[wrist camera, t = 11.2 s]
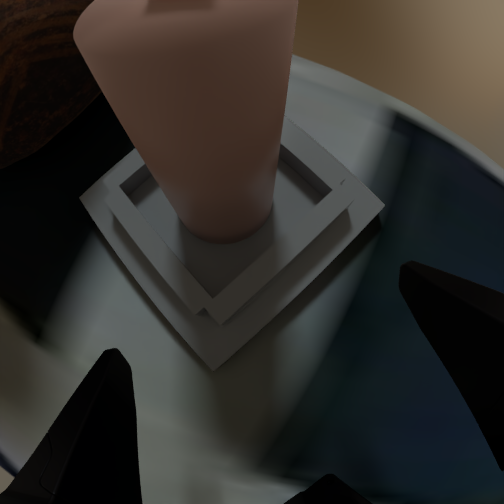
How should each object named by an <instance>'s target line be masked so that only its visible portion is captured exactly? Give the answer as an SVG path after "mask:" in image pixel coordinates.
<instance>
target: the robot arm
mask: <svg viewBox="0 0 504 504" xmlns="http://www.w3.org/2000/svg"><path fill="white" fill-rule="evenodd" d="M399 290H400V292H401V294H402V296H403V298H404V300H405V301H406V303H407V305H408V307H409V309H410V310H411V312H412V314H413V316H414V318H415V320H416V322H417V323H418V325H419V327H420V329H421V330H422V332H423V333H424V335H425V336H426V338H427V339H428V341H429V342H430V344H431V346H432V347H433V349H434V350H435V352H436V353H437V355H438V356H439V358H440V360H441V361H442V363H443V364H444V366H445V368H446V369H447V371H448V372H449V374H450V376H451V377H452V379H453V381H454V382H455V384H456V386H457V387H458V389H459V391H460V393H461V394H462V396H463V398H464V400H465V401H466V403H467V405H468V407H469V408H470V410H471V412H472V414H473V416H474V417H475V419H476V421H477V423H478V424H479V427H480V429H481V431H482V433H483V435H484V437H485V439H486V441H487V443H488V445H489V447H490V449H491V451H492V453H493V455H494V457H495V459H496V461H497V463H498V465H499V468H500V469H501V471H504V294H503V293H501V292H499V291H496V290H493V289H491V288H488V287H485V286H483V285H480V284H477V283H475V282H472V281H469V280H467V279H464V278H461V277H458V276H456V275H453V274H450V273H447V272H444V271H442V270H439V269H436V268H433V267H430V266H427V265H424V264H421V263H419V262H416V261H408V262H406V263H403V264H402V265H401V267H400V274H399ZM331 479H332V482H330V483H326V482H327V481H328V480H331ZM0 504H142V495H141V486H140V474H139V461H138V444H137V417H136V406H135V398H134V389H133V380H132V370H131V367H130V365H129V363H128V362H127V360H126V359H125V358H124V356H123V355H122V354H121V352H120V351H119V350H118V349H117V348H112V349H107V350H105V351H104V352H103V353H102V354H101V356H100V357H99V358H98V360H97V361H96V363H95V364H94V365H93V367H92V368H91V369H90V371H89V372H88V374H87V375H86V376H85V378H84V379H83V381H82V382H81V383H80V385H79V386H78V388H77V389H76V391H75V392H74V393H73V395H72V396H71V398H70V399H69V401H68V402H67V403H66V405H65V406H64V408H63V409H62V411H61V412H60V414H59V415H58V417H57V418H56V420H55V421H54V423H53V424H52V426H51V427H50V429H49V430H48V433H46V435H45V436H44V438H43V439H42V441H41V442H40V444H39V445H38V447H37V448H36V450H35V451H34V453H33V454H32V455H31V457H30V458H29V460H28V461H27V462H26V464H25V465H24V466H23V468H22V469H21V470H20V472H19V473H18V474H17V476H16V477H15V478H14V480H13V481H12V482H11V484H10V485H9V486H8V488H7V489H6V490H5V491H3V492H2V493H1V494H0ZM284 504H372V503H371V502H369V501H368V500H367V499H365V498H364V497H362V496H361V495H360V494H358V493H357V492H356V491H354V490H353V489H352V488H351V487H349V486H348V485H347V484H345V483H344V482H343V481H342V480H340V479H339V478H338V477H337V476H335V475H334V474H327V475H325V476H323V477H322V478H321V479H319V480H318V481H317V482H316V483H314V484H313V485H312V486H310V487H309V488H308V489H306V490H305V491H303V492H300V493H298V494H297V495H295V496H294V497H293V498H291V499H290V500H288V501H287V502H285V503H284Z"/></svg>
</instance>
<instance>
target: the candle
mask: <svg viewBox="0 0 504 504" xmlns="http://www.w3.org/2000/svg"><path fill="white" fill-rule="evenodd" d="M297 7H298V0H94V1H93V2H92V3H91V4H90V5H89V6H88V7H87V8H86V9H85V10H84V12H83V13H82V14H81V16H80V17H79V19H78V20H77V22H76V25H75V27H74V31H73V38H74V41H75V43H76V45H77V47H78V49H79V51H80V52H81V54H82V56H83V58H84V60H85V62H86V63H87V65H88V67H89V69H90V71H91V72H92V74H93V76H94V78H95V80H96V81H97V83H98V85H99V87H100V88H101V90H102V92H103V94H104V95H105V97H106V99H107V101H108V102H109V104H110V106H111V107H112V109H113V111H114V113H115V114H116V116H117V118H118V119H119V121H120V123H121V125H122V126H123V128H124V130H125V131H126V133H127V135H128V136H129V138H130V140H131V141H132V143H133V145H134V146H135V148H136V149H137V151H138V153H139V154H140V156H141V158H142V159H143V161H144V163H145V164H146V166H147V167H148V169H149V171H150V172H151V174H152V175H153V177H154V179H155V180H156V182H157V183H158V185H159V187H160V188H161V190H162V191H163V193H164V195H165V196H166V198H167V199H168V201H169V202H170V204H171V205H172V207H173V209H174V210H175V212H176V213H177V215H178V216H179V218H180V219H181V221H182V223H183V224H184V226H185V227H186V228H187V229H188V230H189V231H190V232H191V233H192V234H193V235H195V236H196V237H197V238H199V239H201V240H203V241H206V242H209V243H214V244H231V243H236V242H239V241H242V240H244V239H247V238H248V237H250V236H252V235H253V234H254V233H256V232H257V231H258V230H259V229H260V228H261V227H262V226H263V224H264V223H265V222H266V220H267V218H268V216H269V214H270V211H271V207H272V201H273V194H274V187H275V179H276V172H277V165H278V158H279V150H280V143H281V135H282V128H283V120H284V113H285V105H286V97H287V89H288V82H289V74H290V66H291V58H292V50H293V41H294V33H295V24H296V16H297Z"/></svg>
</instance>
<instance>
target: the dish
mask: <svg viewBox="0 0 504 504" xmlns="http://www.w3.org/2000/svg"><path fill="white" fill-rule="evenodd" d="M79 198H80V200H81V202H82V203H83V205H84V206H85V208H86V209H87V211H88V213H89V214H90V216H91V217H92V219H93V220H94V222H95V223H96V225H97V226H98V228H99V229H100V231H101V232H102V233H103V235H104V236H105V238H106V239H107V241H108V242H109V244H110V245H111V246H112V248H113V249H114V251H115V252H116V254H117V255H118V256H119V258H120V259H121V260H122V262H123V263H124V265H125V266H126V267H127V269H128V270H129V271H130V273H131V274H132V275H133V277H134V278H135V279H136V281H137V282H138V283H139V285H140V286H141V287H142V288H143V290H144V291H145V292H146V294H147V295H148V296H149V297H150V299H151V300H152V301H153V302H154V304H155V305H156V306H157V307H158V309H159V310H160V311H161V312H162V314H163V315H164V316H165V317H166V318H167V320H168V321H169V322H170V323H171V324H172V326H173V327H174V328H175V329H176V330H177V332H178V333H179V334H180V335H181V336H182V337H183V339H184V340H185V341H186V342H187V343H188V344H189V345H190V347H191V348H192V349H193V350H194V351H195V352H196V353H197V355H198V356H199V357H200V358H201V359H202V360H203V361H204V362H205V363H206V364H207V366H208V367H209V368H210V369H211V370H212V371H213V372H214V371H215V370H216V369H217V368H218V367H219V366H221V365H222V364H223V363H224V362H225V361H226V360H227V359H229V358H230V357H231V356H232V355H233V354H234V353H235V352H237V351H238V350H239V349H240V348H241V347H242V346H243V345H244V344H246V343H247V342H248V341H249V340H250V339H251V338H252V337H253V336H254V335H255V334H257V333H258V332H259V331H260V330H261V329H262V328H263V327H264V326H265V325H266V324H267V323H269V322H270V321H271V320H272V319H273V318H274V317H275V316H276V315H277V314H278V313H279V312H280V311H281V310H282V309H284V308H285V307H286V306H287V305H288V304H289V303H290V302H291V301H292V300H293V299H294V298H295V297H296V296H297V295H298V294H299V293H300V292H301V291H302V290H303V289H304V288H305V287H306V286H308V285H309V284H310V283H311V282H312V281H313V280H314V279H315V278H316V277H317V276H318V275H319V274H320V273H321V272H322V271H323V270H324V269H325V268H326V267H327V266H328V265H329V264H330V263H331V262H332V261H333V260H334V259H335V258H336V257H337V256H338V255H339V254H340V253H341V252H342V251H343V249H344V248H345V247H346V246H347V245H348V244H349V243H350V242H351V241H352V240H353V239H354V238H355V237H356V236H357V235H358V234H359V233H360V232H361V231H362V230H363V229H364V228H365V227H366V225H367V224H368V223H369V222H370V221H371V220H372V219H373V218H374V217H375V216H376V215H377V214H378V213H379V212H380V210H381V209H382V208H383V207H384V206H385V205H384V204H383V203H382V202H381V201H380V200H379V199H378V198H377V197H376V196H375V195H374V194H373V193H372V192H371V191H370V190H369V189H368V188H367V187H366V186H365V185H364V184H363V183H362V182H361V181H360V180H359V179H358V178H357V177H356V176H355V175H354V174H352V173H351V172H350V171H349V170H348V169H347V168H346V167H345V166H344V165H343V164H342V163H341V162H339V161H338V160H337V159H336V158H335V157H334V156H333V155H332V154H330V153H329V152H328V151H327V150H326V149H325V148H324V147H322V146H321V145H320V144H319V143H318V142H317V141H315V140H314V139H313V138H312V137H311V136H309V135H308V134H307V133H306V132H305V131H303V130H302V129H301V128H300V127H299V126H297V125H296V124H295V123H294V122H292V121H291V120H290V119H289V118H287V117H286V116H285V115H284V120H283V128H282V135H281V143H280V150H279V158H278V165H277V172H276V179H275V187H274V194H273V201H272V207H271V211H270V214H269V216H268V218H267V220H266V222H265V223H264V224H263V226H262V227H261V228H260V229H259V230H258V231H257V232H256V233H254V234H253V235H252V236H250V237H248V238H247V239H244V240H242V241H239V242H236V243H231V244H214V243H209V242H206V241H203V240H201V239H199V238H197V237H196V236H195V235H193V234H192V233H191V232H190V231H189V230H188V229H187V228H186V227H185V226H184V224H183V223H182V221H181V219H180V218H179V216H178V215H177V213H176V212H175V210H174V209H173V207H172V205H171V204H170V202H169V201H168V199H167V198H166V196H165V195H164V193H163V191H162V190H161V188H160V187H159V185H158V183H157V182H156V180H155V179H154V177H153V175H152V174H151V172H150V171H149V169H148V167H147V166H146V164H145V163H144V161H143V159H142V158H141V156H140V154H139V153H138V151H137V149H136V148H135V149H134V150H133V151H131V152H130V153H129V154H128V155H126V156H125V157H124V158H123V159H122V160H120V161H119V162H118V163H117V164H116V165H115V166H113V167H112V168H111V169H110V170H109V171H108V172H107V173H105V174H104V175H103V176H102V177H101V178H100V179H99V180H98V181H96V182H95V183H94V184H93V185H92V186H91V187H90V188H89V189H88V190H87V191H86V192H85V193H84V194H83V195H81V196H80V197H79Z"/></svg>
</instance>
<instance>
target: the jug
mask: <svg viewBox="0 0 504 504" xmlns="http://www.w3.org/2000/svg"><path fill="white" fill-rule="evenodd" d="M93 1H94V0H0V169H3V168H5V167H7V166H9V165H11V164H13V163H14V162H17V161H19V160H21V159H23V158H25V157H28V156H29V155H31V154H33V153H34V152H36V151H38V150H39V149H40V148H42V147H43V146H44V145H45V144H47V143H48V142H49V141H50V140H51V139H52V138H53V137H54V136H56V135H57V134H58V133H59V132H60V131H61V130H63V129H64V128H65V127H66V126H67V125H68V124H70V123H71V122H72V121H73V120H74V119H75V118H76V117H77V116H78V115H79V114H80V113H81V112H83V111H84V109H85V108H86V107H87V106H88V105H89V104H90V103H91V102H92V101H93V100H94V99H96V98H97V97H98V95H99V94H100V93H101V92H102V90H101V88H100V87H99V85H98V83H97V81H96V80H95V78H94V76H93V74H92V72H91V71H90V69H89V67H88V65H87V63H86V62H85V60H84V58H83V56H82V54H81V52H80V51H79V49H78V47H77V45H76V43H75V41H74V38H73V31H74V27H75V25H76V22H77V20H78V19H79V17H80V16H81V14H82V13H83V12H84V10H85V9H86V8H87V7H88V6H89V5H90V4H91V3H92V2H93Z"/></svg>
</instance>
